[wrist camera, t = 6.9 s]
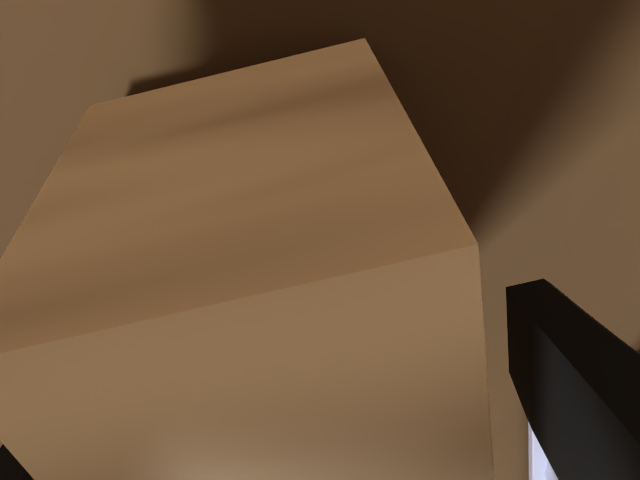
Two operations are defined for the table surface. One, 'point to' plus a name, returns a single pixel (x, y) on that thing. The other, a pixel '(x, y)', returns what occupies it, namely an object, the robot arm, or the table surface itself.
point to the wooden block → (247, 290)
